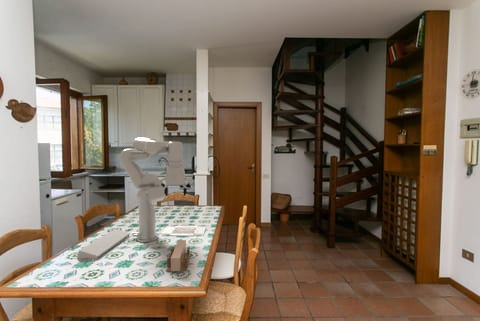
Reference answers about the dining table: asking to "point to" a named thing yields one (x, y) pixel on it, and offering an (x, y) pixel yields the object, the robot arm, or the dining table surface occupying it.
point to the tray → (184, 230)
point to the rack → (184, 263)
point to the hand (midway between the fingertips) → (175, 195)
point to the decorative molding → (102, 244)
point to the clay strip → (178, 255)
